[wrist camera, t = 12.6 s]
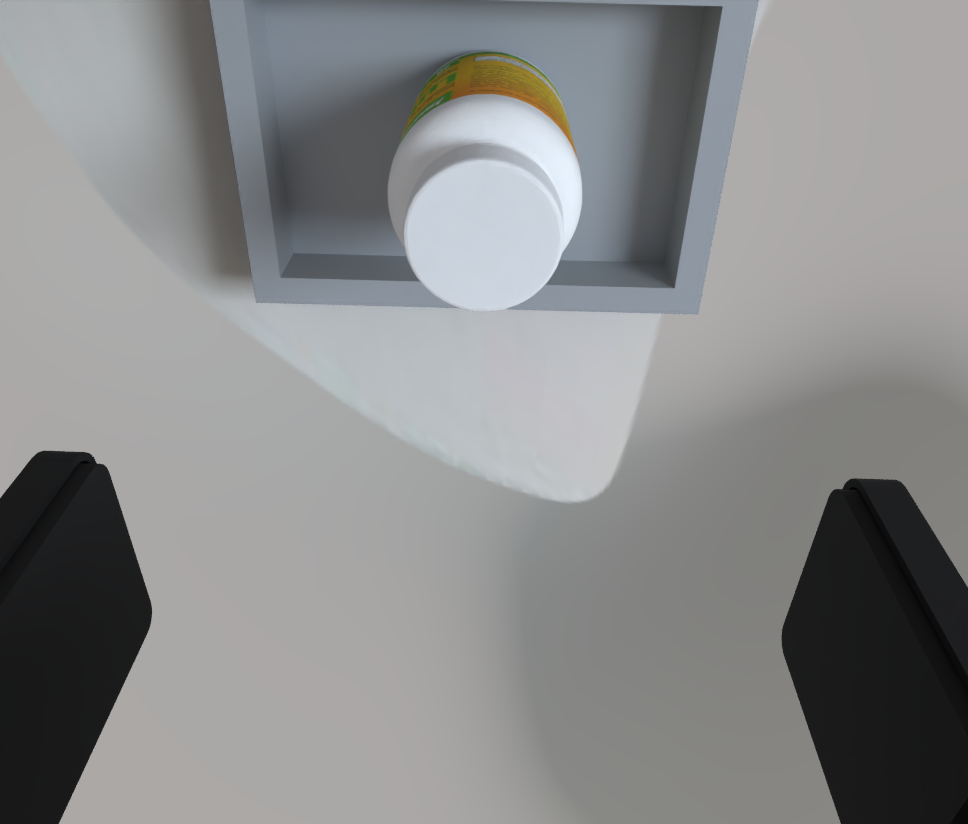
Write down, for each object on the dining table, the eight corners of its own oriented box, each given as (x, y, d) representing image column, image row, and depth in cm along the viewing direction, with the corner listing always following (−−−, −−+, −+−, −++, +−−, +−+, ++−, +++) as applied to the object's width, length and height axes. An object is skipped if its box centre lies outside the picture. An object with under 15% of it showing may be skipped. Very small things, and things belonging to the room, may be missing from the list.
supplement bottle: (443, 18, 26) (416, 87, 18) (594, 87, 27) (633, 181, 19) (389, 173, 28) (344, 293, 20) (527, 229, 30) (537, 365, 21)
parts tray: (738, -43, 25) (764, -32, 23) (682, 279, 31) (698, 314, 29) (231, -56, 25) (202, -47, 23) (275, 267, 31) (256, 302, 29)
